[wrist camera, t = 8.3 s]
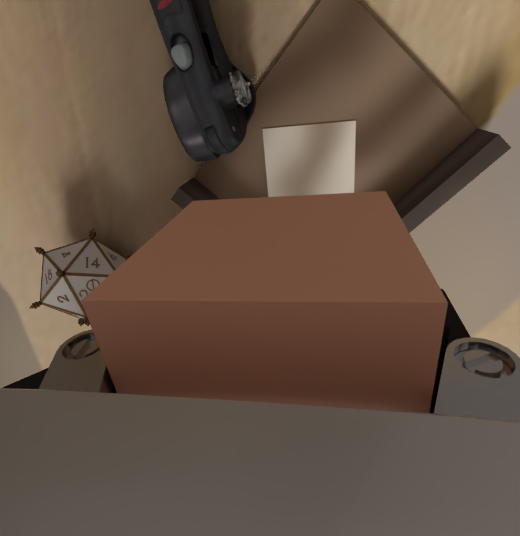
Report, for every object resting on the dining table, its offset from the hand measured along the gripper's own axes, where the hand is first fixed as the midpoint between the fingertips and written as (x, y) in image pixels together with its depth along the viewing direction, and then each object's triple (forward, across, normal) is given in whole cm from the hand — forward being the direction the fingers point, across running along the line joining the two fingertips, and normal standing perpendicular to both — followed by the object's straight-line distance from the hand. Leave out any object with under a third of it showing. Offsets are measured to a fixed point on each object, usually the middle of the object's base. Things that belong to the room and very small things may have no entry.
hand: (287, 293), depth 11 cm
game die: (+19, +21, +8) cm, 29 cm away
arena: (+19, -1, 0) cm, 19 cm away
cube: (+1, 0, 0) cm, 1 cm away
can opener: (+19, +8, -10) cm, 23 cm away
